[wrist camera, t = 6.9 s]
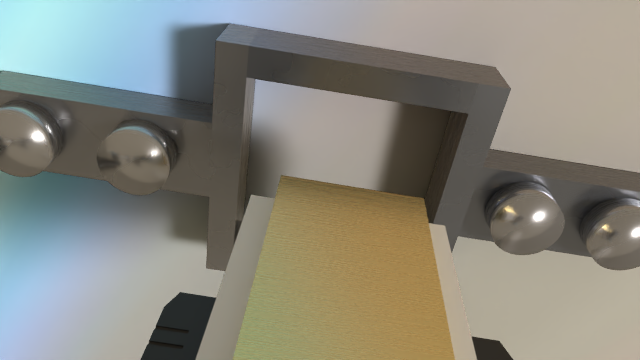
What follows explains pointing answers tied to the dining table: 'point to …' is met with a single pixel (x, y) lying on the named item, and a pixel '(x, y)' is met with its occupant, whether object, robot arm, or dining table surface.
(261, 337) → the gold rectangular block
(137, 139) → the knobbed square frame
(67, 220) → the dining table surface
